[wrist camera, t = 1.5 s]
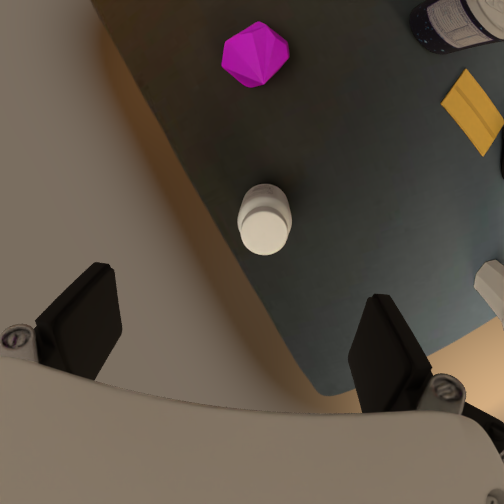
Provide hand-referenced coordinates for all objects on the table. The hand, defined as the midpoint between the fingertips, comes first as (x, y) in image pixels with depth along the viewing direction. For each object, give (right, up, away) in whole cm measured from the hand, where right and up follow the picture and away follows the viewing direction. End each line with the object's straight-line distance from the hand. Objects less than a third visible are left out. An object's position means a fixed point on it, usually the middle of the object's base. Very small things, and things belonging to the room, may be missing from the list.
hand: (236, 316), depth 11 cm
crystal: (+1, +20, +13) cm, 24 cm away
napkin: (+25, +17, +13) cm, 33 cm away
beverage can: (+19, +25, +10) cm, 32 cm away
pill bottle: (+2, +7, +19) cm, 20 cm away
